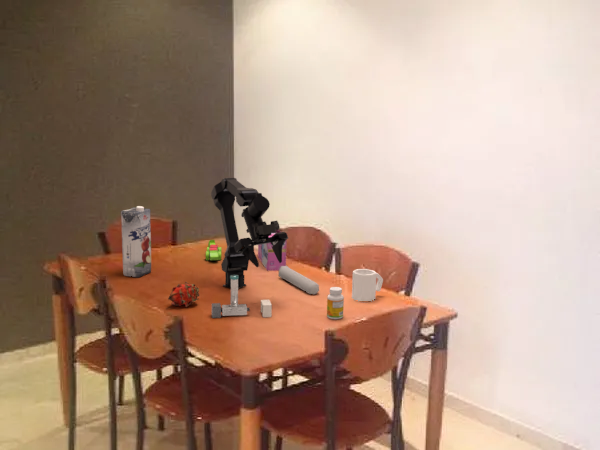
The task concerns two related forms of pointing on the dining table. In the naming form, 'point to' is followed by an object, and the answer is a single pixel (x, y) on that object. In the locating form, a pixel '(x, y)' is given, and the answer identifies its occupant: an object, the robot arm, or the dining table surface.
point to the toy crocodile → (213, 251)
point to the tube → (298, 280)
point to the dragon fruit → (184, 294)
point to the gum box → (271, 255)
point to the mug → (365, 284)
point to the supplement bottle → (335, 303)
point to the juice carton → (136, 241)
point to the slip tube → (234, 300)
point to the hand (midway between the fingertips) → (269, 264)
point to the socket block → (266, 308)
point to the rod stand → (218, 310)
